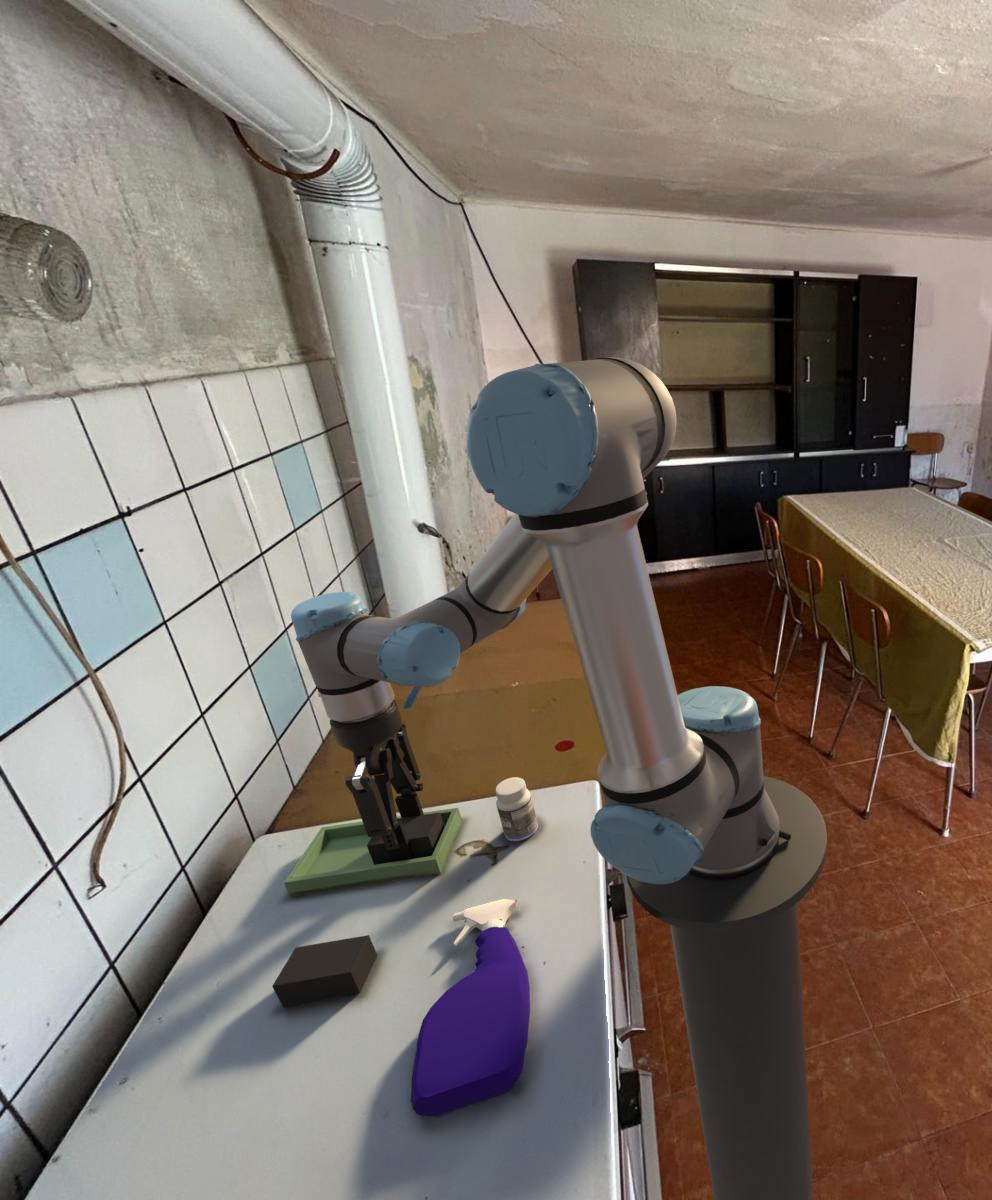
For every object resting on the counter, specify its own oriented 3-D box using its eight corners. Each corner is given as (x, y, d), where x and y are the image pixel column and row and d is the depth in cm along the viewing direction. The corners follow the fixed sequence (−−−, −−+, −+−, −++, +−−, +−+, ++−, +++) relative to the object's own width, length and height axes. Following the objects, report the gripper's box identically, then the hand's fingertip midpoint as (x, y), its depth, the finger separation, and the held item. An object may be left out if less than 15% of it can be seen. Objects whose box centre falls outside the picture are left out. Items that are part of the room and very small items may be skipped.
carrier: (462, 820, 100) (458, 807, 99) (440, 873, 91) (435, 859, 90) (327, 840, 97) (321, 827, 96) (290, 897, 88) (283, 882, 87)
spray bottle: (523, 1068, 63) (532, 883, 85) (397, 1111, 60) (439, 908, 82) (529, 1087, 65) (536, 900, 86) (406, 1131, 61) (445, 925, 83)
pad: (445, 830, 97) (439, 812, 96) (434, 855, 93) (428, 836, 91) (387, 839, 96) (381, 820, 95) (373, 864, 92) (366, 845, 90)
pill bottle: (500, 830, 98) (487, 785, 95) (531, 815, 101) (520, 770, 98) (511, 847, 95) (499, 801, 91) (543, 830, 98) (532, 785, 94)
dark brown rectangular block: (377, 955, 79) (369, 934, 78) (360, 993, 75) (350, 972, 73) (305, 967, 78) (295, 947, 77) (282, 1007, 73) (271, 986, 72)
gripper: (360, 677, 93) (405, 807, 102) (294, 754, 76) (355, 900, 86) (417, 671, 94) (457, 800, 103) (364, 745, 77) (416, 891, 87)
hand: (410, 845), depth 94 cm, fingers closed on pad, 5 cm apart
